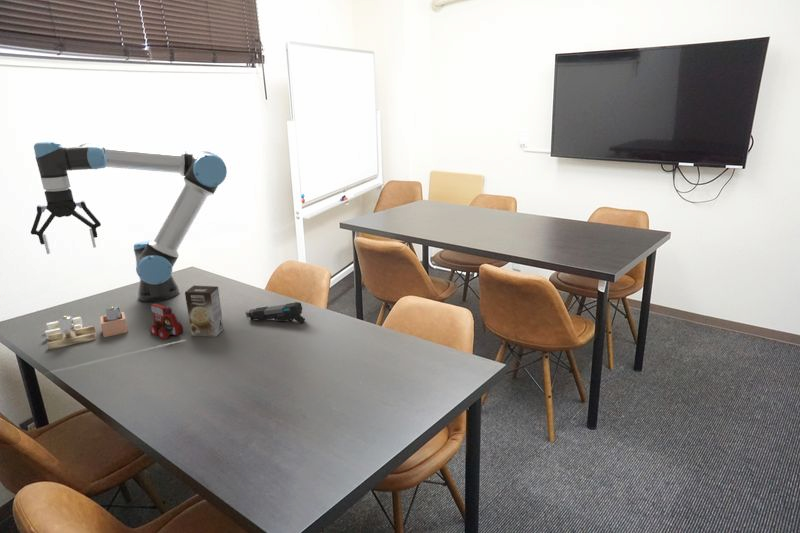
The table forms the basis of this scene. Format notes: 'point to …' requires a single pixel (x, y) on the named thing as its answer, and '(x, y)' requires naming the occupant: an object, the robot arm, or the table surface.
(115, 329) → the square hollow tube
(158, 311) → the toy fire truck
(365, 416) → the table surface
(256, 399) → the table surface
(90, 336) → the trough
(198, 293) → the coffee box
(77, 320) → the cradle
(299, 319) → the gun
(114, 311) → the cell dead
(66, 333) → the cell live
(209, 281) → the table surface
